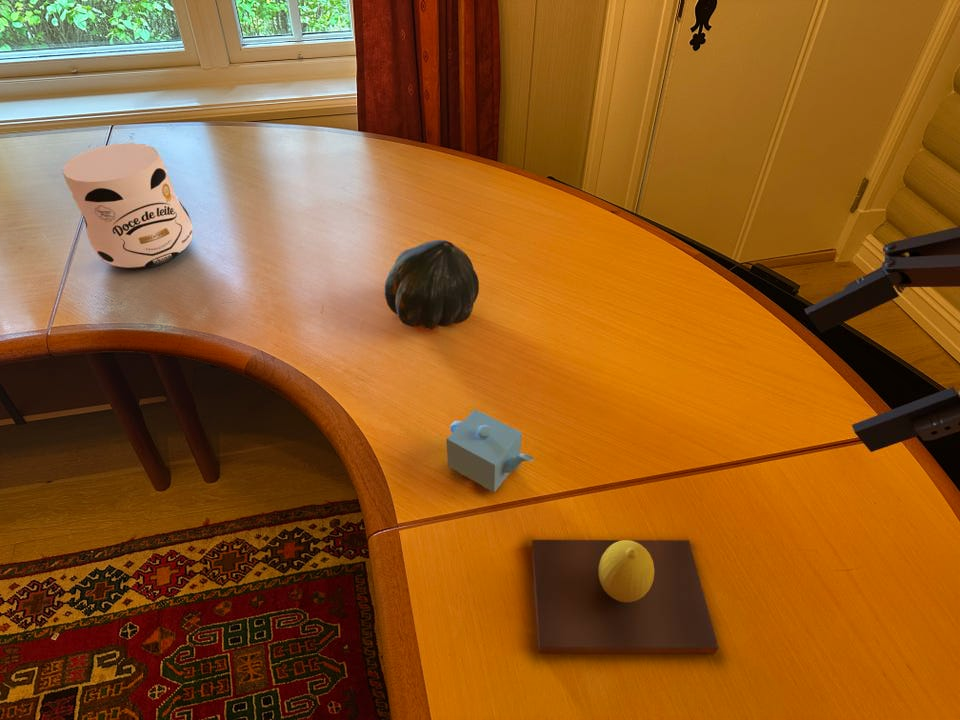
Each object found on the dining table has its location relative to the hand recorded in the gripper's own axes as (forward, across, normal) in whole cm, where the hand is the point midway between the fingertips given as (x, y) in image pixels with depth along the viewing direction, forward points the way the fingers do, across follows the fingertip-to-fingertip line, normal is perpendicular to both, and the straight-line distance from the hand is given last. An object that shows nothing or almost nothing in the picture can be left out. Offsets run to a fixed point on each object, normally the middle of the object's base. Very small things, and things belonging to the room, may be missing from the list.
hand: (833, 374), depth 49 cm
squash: (+51, +39, +9) cm, 65 cm away
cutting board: (+30, -6, -12) cm, 33 cm away
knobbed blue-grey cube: (+41, +8, -1) cm, 42 cm away
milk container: (+92, +50, +49) cm, 116 cm away
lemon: (+29, -6, -11) cm, 32 cm away
